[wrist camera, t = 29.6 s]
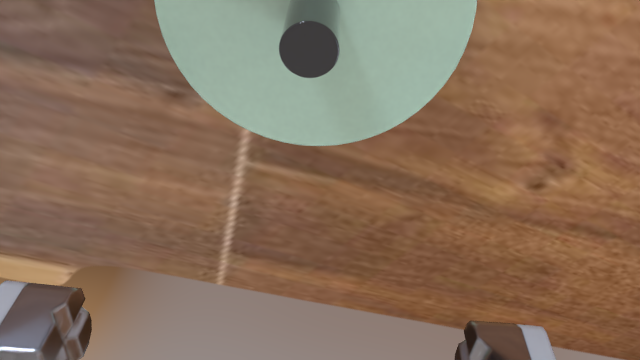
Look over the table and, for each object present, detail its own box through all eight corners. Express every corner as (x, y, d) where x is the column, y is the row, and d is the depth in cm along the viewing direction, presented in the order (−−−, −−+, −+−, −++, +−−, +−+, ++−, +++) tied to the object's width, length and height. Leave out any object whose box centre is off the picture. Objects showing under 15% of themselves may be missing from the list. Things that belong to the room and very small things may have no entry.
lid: (432, 149, 32) (446, 209, 28) (170, 121, 32) (141, 178, 27) (518, -158, 22) (561, -141, 18) (143, -206, 22) (92, -200, 17)
